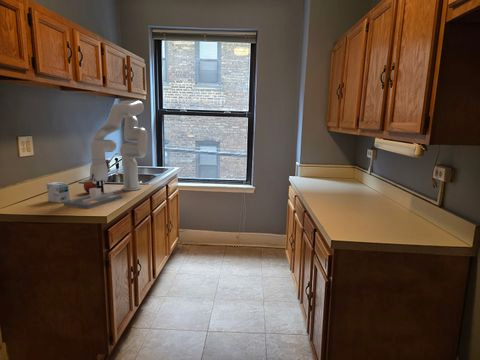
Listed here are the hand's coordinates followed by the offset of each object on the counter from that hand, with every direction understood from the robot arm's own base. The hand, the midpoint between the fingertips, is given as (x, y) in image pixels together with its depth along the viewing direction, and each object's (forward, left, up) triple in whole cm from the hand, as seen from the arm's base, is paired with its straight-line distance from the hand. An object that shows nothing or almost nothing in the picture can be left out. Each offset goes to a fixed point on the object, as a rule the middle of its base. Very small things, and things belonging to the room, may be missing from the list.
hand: (100, 191), depth 193 cm
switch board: (+5, 0, -5) cm, 7 cm away
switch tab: (+4, 0, -2) cm, 5 cm away
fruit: (-12, -19, -5) cm, 23 cm away
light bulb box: (+12, -20, -5) cm, 24 cm away
